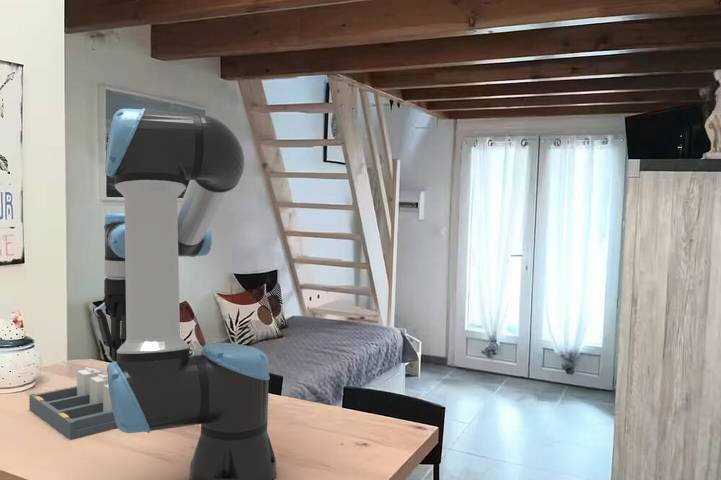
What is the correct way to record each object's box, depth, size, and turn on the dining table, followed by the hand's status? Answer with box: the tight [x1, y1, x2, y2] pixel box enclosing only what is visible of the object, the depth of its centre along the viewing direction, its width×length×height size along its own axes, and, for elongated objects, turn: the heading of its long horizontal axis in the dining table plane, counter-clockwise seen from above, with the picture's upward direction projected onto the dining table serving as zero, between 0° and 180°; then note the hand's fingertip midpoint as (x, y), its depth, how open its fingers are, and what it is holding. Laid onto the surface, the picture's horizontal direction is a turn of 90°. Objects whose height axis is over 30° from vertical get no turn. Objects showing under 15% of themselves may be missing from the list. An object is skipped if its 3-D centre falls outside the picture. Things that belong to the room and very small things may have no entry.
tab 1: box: [103, 384, 112, 412], centre depth 134 cm, size 4×4×7 cm
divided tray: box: [28, 385, 119, 440], centre depth 136 cm, size 23×15×4 cm, turn 47°
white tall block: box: [90, 373, 108, 404], centre depth 139 cm, size 4×4×7 cm
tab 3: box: [76, 366, 102, 396], centre depth 143 cm, size 4×4×7 cm
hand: (120, 373), depth 149 cm, fingers closed
